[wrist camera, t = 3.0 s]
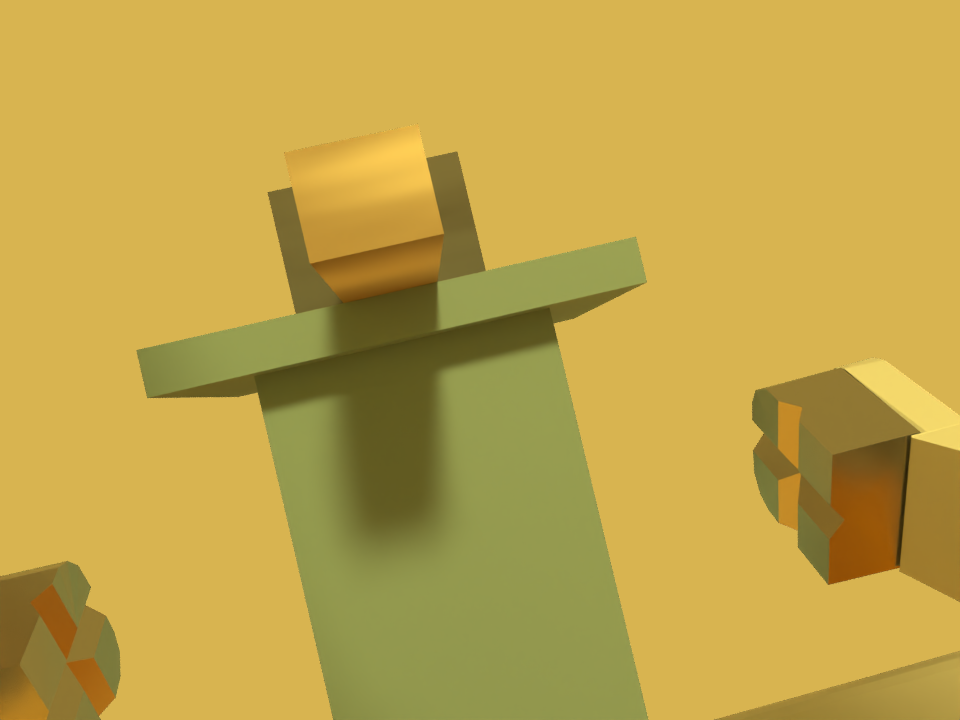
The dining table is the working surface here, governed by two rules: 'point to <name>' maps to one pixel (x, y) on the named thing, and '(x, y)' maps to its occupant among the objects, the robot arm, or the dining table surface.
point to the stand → (439, 490)
